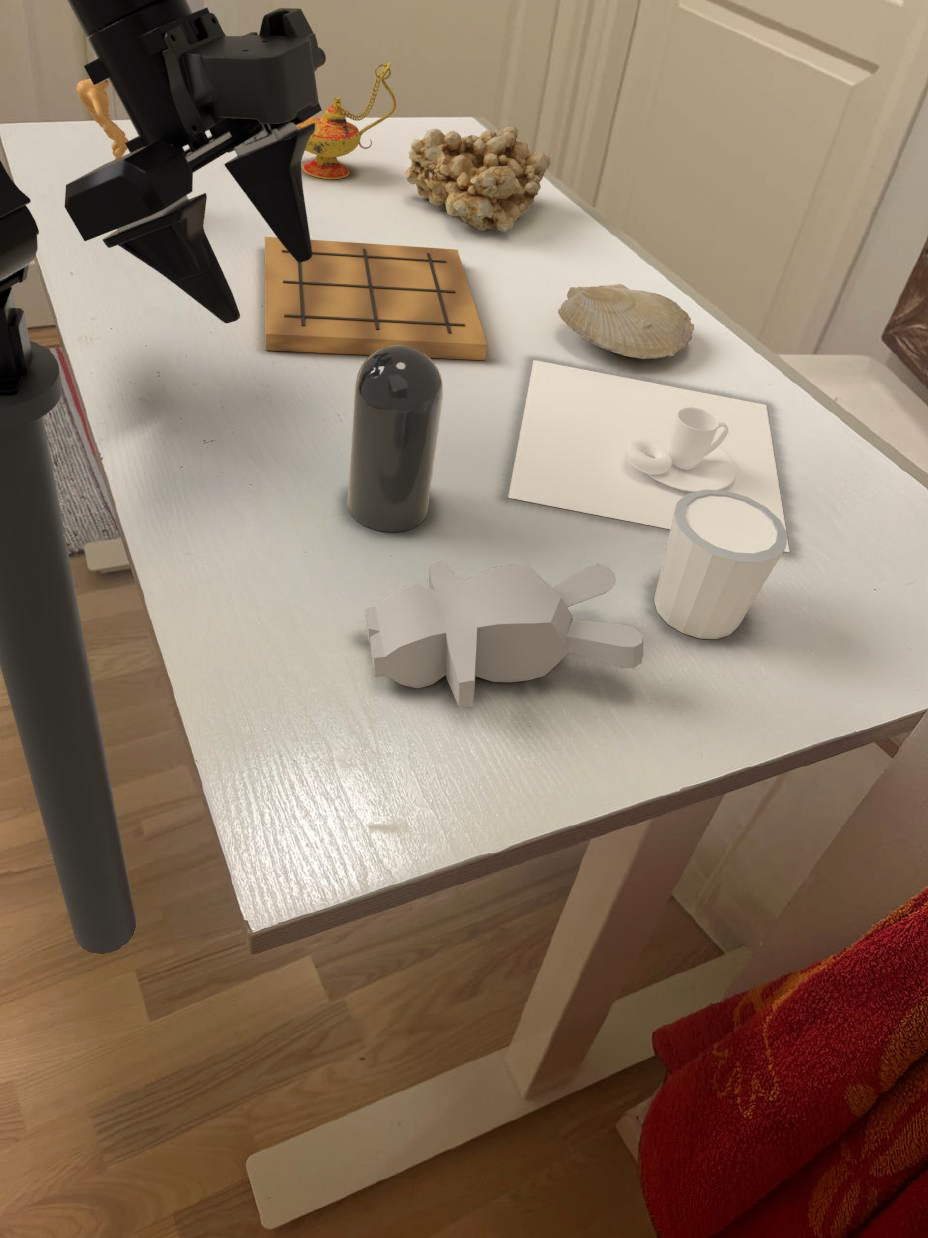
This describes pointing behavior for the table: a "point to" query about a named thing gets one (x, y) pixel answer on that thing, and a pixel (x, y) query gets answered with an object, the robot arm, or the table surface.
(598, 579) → the bunny figurine
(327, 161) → the magic lamp
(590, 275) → the table surface
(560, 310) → the seashell
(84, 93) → the figurine
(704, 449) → the teacup and saucer
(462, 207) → the mineral formation
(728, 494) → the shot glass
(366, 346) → the board
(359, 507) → the dark domed cylinder
